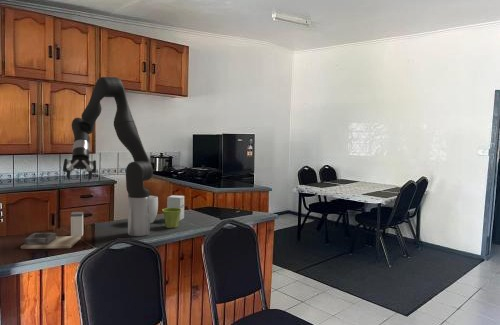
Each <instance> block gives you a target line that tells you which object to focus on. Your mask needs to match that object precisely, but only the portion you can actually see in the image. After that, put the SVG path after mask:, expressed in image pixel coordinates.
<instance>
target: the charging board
mask: <svg viewBox="0 0 500 325" xmlns="http://www.w3.org/2000/svg"><path fill="white" fill-rule="evenodd" d="M81 239H82V237H81V236H71V235H68V236H67V235H62V236H61V235H60V236H59V235H58V236H57V233H56V232H33V233H31V234H30V235H29V236H27V237H25V238H24V244H22V245H21V246H20V249H21V250H23V249H24V250H26V249H27V250H29V249H34V250H37V249H38V250H39V249H41V250H44V249H71V248H72V247H73V246H75V244H77V243H78V242H79V241H80V240H81Z"/></svg>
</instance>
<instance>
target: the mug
mask: <svg viewBox="0 0 500 325" xmlns="http://www.w3.org/2000/svg"><path fill="white" fill-rule="evenodd" d="M158 209H159V197H158V196H157V195H149V212H150V224H152V223H154V222H155V220H156V219H157V218H156V217H157V215H158Z"/></svg>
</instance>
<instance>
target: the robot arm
mask: <svg viewBox="0 0 500 325" xmlns="http://www.w3.org/2000/svg"><path fill="white" fill-rule="evenodd" d="M104 98H113V99H114V101H115V104H116V111H115V115H114V118H113V128H114V130H115V133H116V134H115V135H116V136H117V139H118V140H119V141H120V143H121V144H122V145H123V147H125V148H126V150H127V151H128V152H129V153H130V154H131V157H132V158H133V161H131V162H129V163H128V164H127V165H126V168H125V183H126V184H125V186H126V192H127V197H128V198H127V234H128V236H129V237H130V236H131V237H144V236H148V235H149V234H150V230H151V229H150V228H151V227H150V226H151V223H150V212H149V196H150V190H149V189H147V188H145V187H144V182H146V181H149V180H151V179H152V178H153V175H154V169H153V168H154V167H153V165H152V163H151V161H150V158H149V156H148V154H147V153H146V150H145V148H144V145H143V142H142V140H141V137H140V135H139V132H138V128H137V126H136V122H135V120H134V118H133V115H132V112H131V109H130V106H129V103H128V100H127V95H126V90H125V86H124V83H123V82H122V80H121V78H119V77H114V76H101V77H99V78H98V79H97V80H96V82H95V85H94V87H93V90H92V93H91V95H90V99H89V101H88V104H87V105H86V106H85V109H84V110H83V111H82V113H81V117H75V118H73V120H72V122H71V130H72V133H73V137H74V139H73V146H72V152H71V153H72V155H71V160H70V159H68V158H64V160H63V167H62V172H64V173H66V179H67V180H70V179H71V172H73V171H74V170H85V171H86V172H87V173H88V176H87V178H88V179H87V180H88V181H90V180H92V179H93V178H92V175H93V174H96V173H97V161H96V160H95V159H94V160H92V161H91V160H90V154H91V153H90V152H91V151H90V141H91V140H90V138H91V137H90V134H92V133H93V131H94V128H95V123H96V121H97V119H98V118H99V117H100V114H101V113H102V104H101V101H102V100H103V99H104ZM69 164H70V165H69ZM68 165H69V167H68ZM90 165H91V167H92V168H91V167H90Z"/></svg>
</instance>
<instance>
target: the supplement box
mask: <svg viewBox="0 0 500 325" xmlns="http://www.w3.org/2000/svg"><path fill="white" fill-rule="evenodd" d="M166 199H167V201H166V204H167V205H166V208H180V209H182V210H181V212H180V216H179V222H180V221H182V220H183V219H185V195H176V194H175V195H174V194H171V195H170V196H167V198H166Z"/></svg>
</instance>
